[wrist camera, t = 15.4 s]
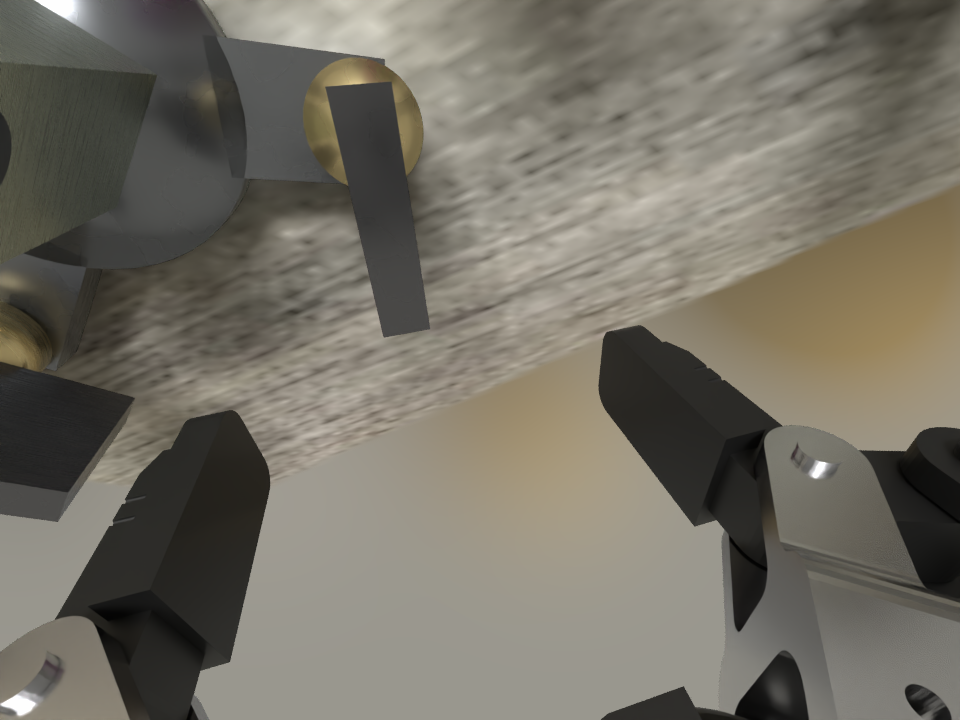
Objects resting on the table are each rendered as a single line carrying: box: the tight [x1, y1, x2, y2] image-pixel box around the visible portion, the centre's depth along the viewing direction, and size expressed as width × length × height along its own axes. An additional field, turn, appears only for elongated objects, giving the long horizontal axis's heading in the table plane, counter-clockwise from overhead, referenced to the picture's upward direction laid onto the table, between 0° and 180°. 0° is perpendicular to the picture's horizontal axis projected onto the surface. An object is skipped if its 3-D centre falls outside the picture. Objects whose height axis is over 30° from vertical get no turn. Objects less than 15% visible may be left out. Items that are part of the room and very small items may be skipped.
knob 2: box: [303, 58, 430, 337], centre depth 17 cm, size 9×5×8 cm, turn 4°
